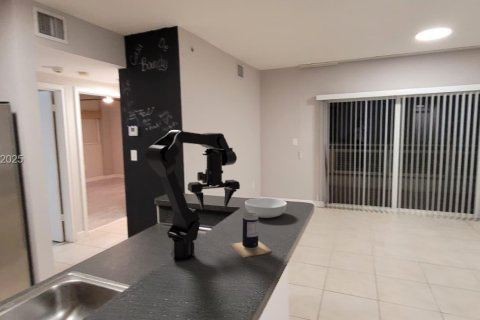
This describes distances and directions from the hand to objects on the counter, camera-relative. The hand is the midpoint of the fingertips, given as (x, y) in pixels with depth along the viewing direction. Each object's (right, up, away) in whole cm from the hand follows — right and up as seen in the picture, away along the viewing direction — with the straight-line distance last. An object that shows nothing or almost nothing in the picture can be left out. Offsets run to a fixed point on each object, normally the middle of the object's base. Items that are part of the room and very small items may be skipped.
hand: (214, 208), depth 110 cm
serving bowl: (+23, -10, +37) cm, 45 cm away
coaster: (+14, -14, -4) cm, 20 cm away
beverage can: (+13, -13, -4) cm, 19 cm away
